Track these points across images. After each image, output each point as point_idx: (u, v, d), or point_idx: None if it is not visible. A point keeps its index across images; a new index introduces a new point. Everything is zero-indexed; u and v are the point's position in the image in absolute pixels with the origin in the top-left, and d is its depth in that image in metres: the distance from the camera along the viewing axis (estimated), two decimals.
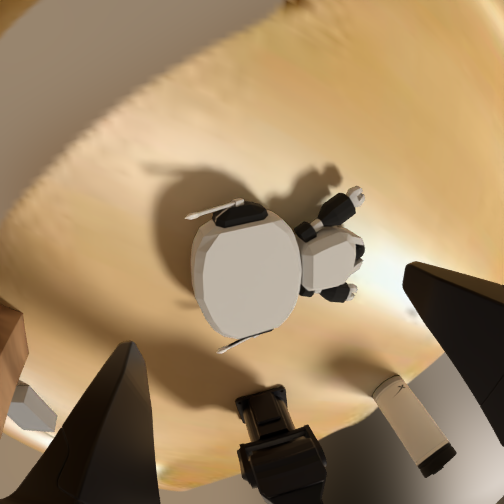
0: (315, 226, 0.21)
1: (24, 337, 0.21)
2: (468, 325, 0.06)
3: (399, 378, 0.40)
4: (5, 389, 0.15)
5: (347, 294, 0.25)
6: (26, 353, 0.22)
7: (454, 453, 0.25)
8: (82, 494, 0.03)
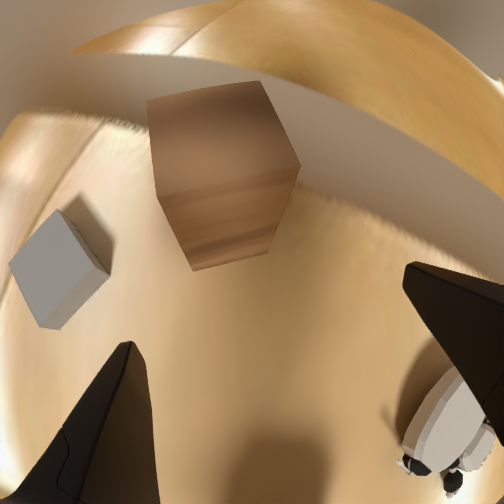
0: None
1: (228, 261, 0.22)
2: (468, 325, 0.06)
3: None
4: (218, 228, 0.15)
5: (459, 486, 0.14)
6: (199, 267, 0.21)
7: None
8: (81, 494, 0.03)
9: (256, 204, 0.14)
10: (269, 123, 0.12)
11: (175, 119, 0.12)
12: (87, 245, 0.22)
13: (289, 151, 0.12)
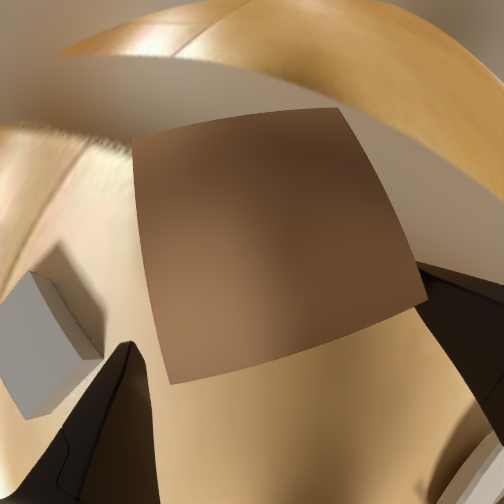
0: None
1: None
2: (468, 325, 0.06)
3: None
4: None
5: None
6: None
7: None
8: (81, 494, 0.03)
9: None
10: (373, 204, 0.06)
11: (189, 187, 0.06)
12: (71, 316, 0.16)
13: (411, 268, 0.06)
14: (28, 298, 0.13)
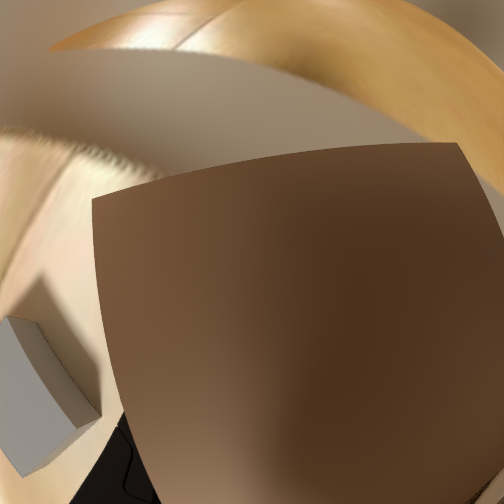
0: None
1: None
2: None
3: None
4: None
5: None
6: None
7: None
8: (154, 497, 0.03)
9: None
10: None
11: (232, 343, 0.03)
12: (61, 366, 0.12)
13: None
14: (8, 350, 0.10)
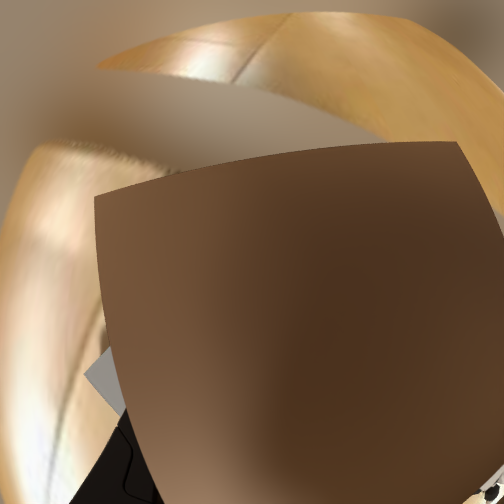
0: None
1: None
2: None
3: None
4: None
5: (497, 495, 0.12)
6: None
7: None
8: (154, 497, 0.03)
9: None
10: None
11: (234, 340, 0.03)
12: None
13: None
14: None
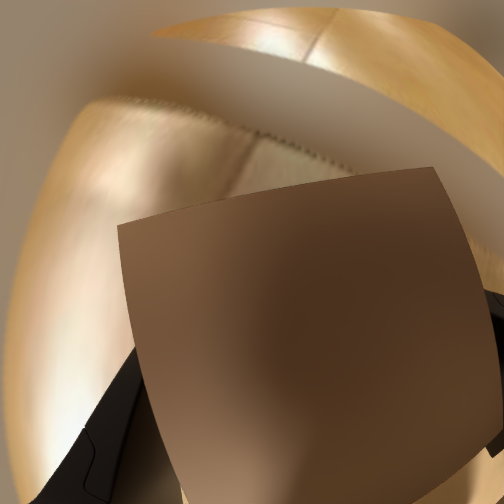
0: None
1: None
2: None
3: None
4: None
5: None
6: None
7: None
8: (111, 496, 0.03)
9: None
10: (477, 331, 0.04)
11: (232, 340, 0.04)
12: None
13: (496, 402, 0.03)
14: None
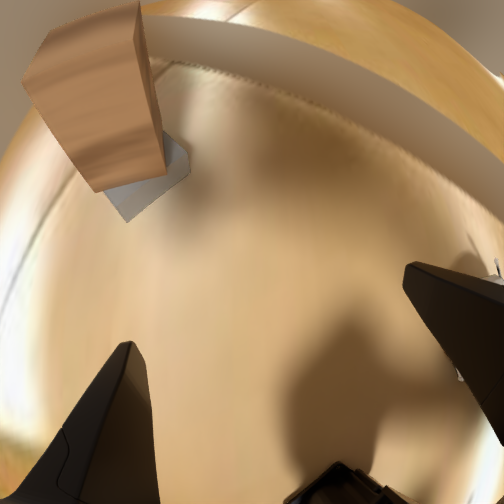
0: None
1: (126, 182, 0.19)
2: (468, 325, 0.06)
3: None
4: (87, 123, 0.13)
5: None
6: (99, 187, 0.19)
7: None
8: (82, 494, 0.03)
9: (111, 90, 0.11)
10: (125, 21, 0.09)
11: (60, 35, 0.09)
12: None
13: (129, 32, 0.09)
14: None
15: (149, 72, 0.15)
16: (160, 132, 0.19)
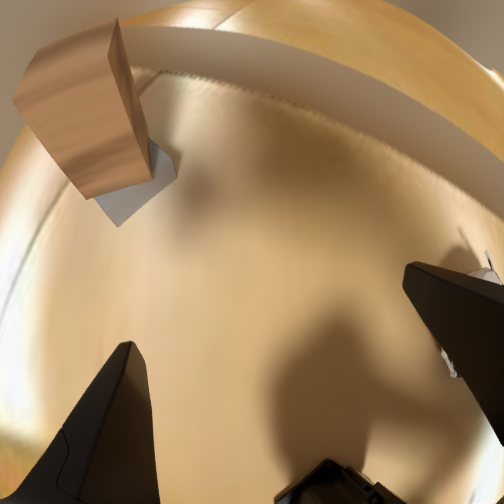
0: None
1: (115, 188, 0.20)
2: (468, 325, 0.06)
3: None
4: (73, 134, 0.14)
5: None
6: (89, 194, 0.20)
7: None
8: (82, 494, 0.03)
9: (92, 103, 0.12)
10: (102, 38, 0.10)
11: (46, 54, 0.10)
12: None
13: (105, 50, 0.10)
14: None
15: (131, 84, 0.16)
16: (145, 140, 0.20)
